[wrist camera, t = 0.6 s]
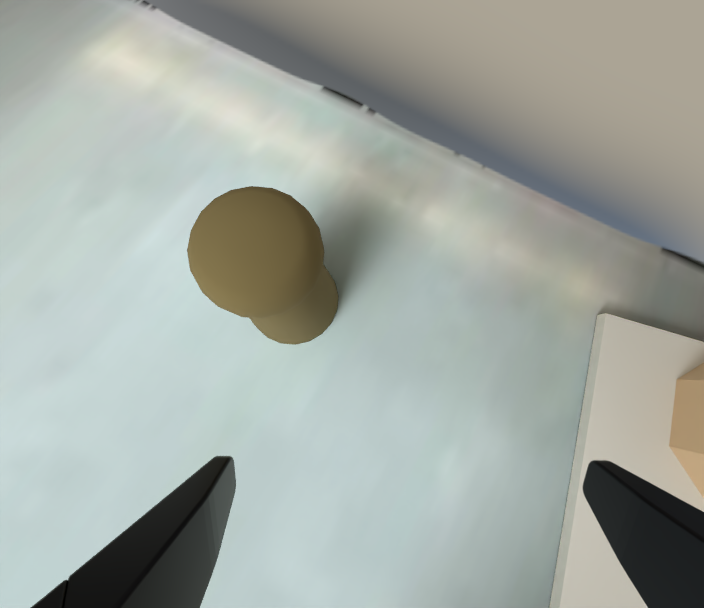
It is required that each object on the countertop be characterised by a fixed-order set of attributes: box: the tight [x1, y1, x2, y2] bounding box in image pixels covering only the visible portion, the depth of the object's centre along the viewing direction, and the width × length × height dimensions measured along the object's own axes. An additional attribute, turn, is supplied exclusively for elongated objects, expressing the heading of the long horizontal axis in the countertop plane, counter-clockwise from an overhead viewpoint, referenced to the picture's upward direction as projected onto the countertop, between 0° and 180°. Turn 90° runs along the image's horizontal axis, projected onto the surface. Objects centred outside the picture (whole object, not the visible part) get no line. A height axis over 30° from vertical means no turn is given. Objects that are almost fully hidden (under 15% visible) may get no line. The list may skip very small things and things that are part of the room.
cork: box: [187, 186, 338, 344], centre depth 17 cm, size 6×6×11 cm
